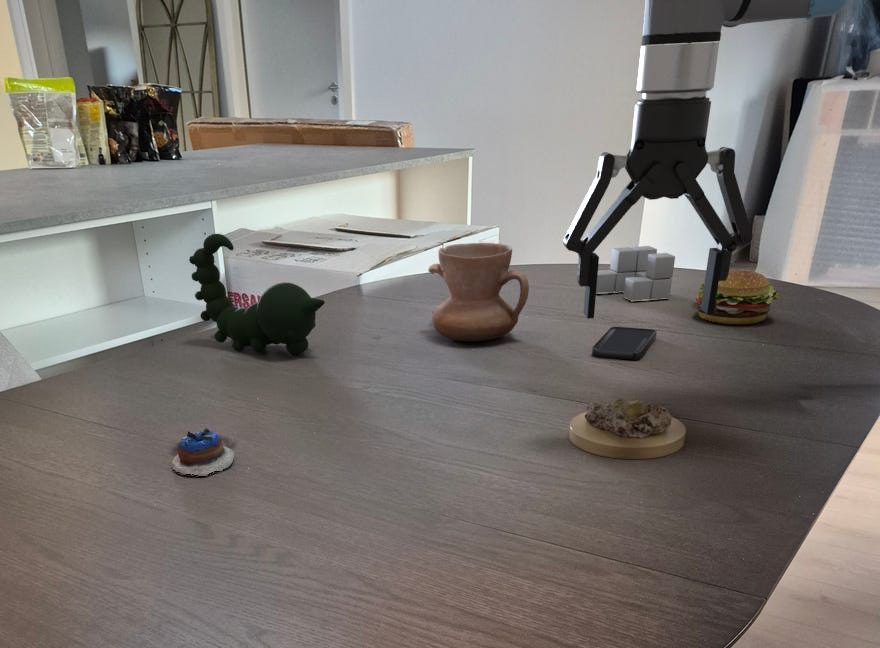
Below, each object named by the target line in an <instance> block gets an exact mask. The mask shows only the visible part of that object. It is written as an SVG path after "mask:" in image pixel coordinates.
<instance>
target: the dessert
mask: <svg viewBox="0 0 880 648" xmlns="http://www.w3.org/2000/svg"><path fill="white" fill-rule="evenodd" d="M176 451H177V454H176V455H175V456H174V458H173V459H172V461H171V468H172V467H173V468H174V469H175V470H176V471H178V472H181V473H183V474H182V475H186V474H191V475H190V476H194V475H196V474H199V473H200V474H208V473H211V472H213V473H215V472H214V471H219V470H223V469H225V468H226V469H227V468H229V466H231V465H232V463H233V461H234V458H235V452H234V451H233V450H232V449H231V448H229V447H227V446H224V443H223V440H222V437H221V435H219V434H218V433H216V431H212V430H210V429H208V427H207V428H206V427H205V429H203V430H200V431H199V432H197V431H196V432H191V431H189V430H187V432H186V436H184V437H183V438H181V439H180V441H179V442H178V444H177V446H176ZM226 469H225V470H226ZM199 471H200V472H199ZM192 474H194V475H192Z"/></svg>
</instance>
